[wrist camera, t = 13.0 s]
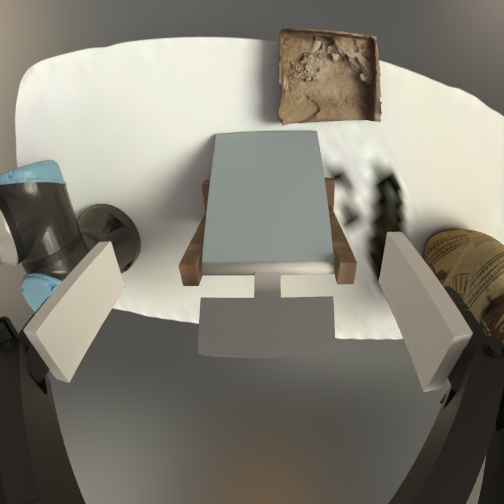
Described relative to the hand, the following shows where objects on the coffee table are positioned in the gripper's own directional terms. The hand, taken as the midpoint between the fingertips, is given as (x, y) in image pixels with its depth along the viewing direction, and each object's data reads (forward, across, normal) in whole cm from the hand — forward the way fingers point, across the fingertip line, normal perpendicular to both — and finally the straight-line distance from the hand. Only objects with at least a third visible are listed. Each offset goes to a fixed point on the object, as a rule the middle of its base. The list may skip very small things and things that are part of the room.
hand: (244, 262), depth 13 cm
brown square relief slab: (+35, +11, +3) cm, 36 cm away
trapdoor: (+25, 0, -11) cm, 28 cm away
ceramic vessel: (+37, +40, -23) cm, 59 cm away
